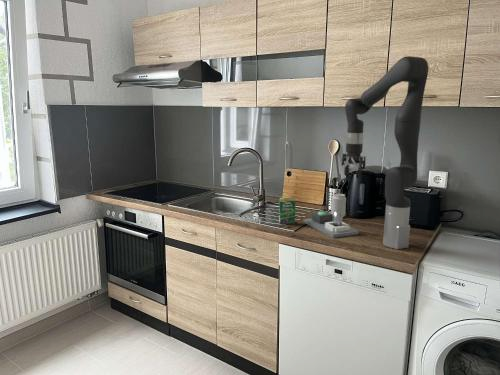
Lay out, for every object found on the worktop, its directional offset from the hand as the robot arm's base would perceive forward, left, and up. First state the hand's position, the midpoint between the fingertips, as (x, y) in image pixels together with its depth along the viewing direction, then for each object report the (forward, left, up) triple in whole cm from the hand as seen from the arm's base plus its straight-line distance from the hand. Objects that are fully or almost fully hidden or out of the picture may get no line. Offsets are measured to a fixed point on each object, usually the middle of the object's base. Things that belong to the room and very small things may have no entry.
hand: (352, 176), depth 174 cm
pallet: (+2, +10, -25) cm, 27 cm away
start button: (+9, +10, -22) cm, 26 cm away
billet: (-4, +10, -23) cm, 26 cm away
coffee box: (+16, +26, -25) cm, 39 cm away
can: (+18, -6, -25) cm, 31 cm away
